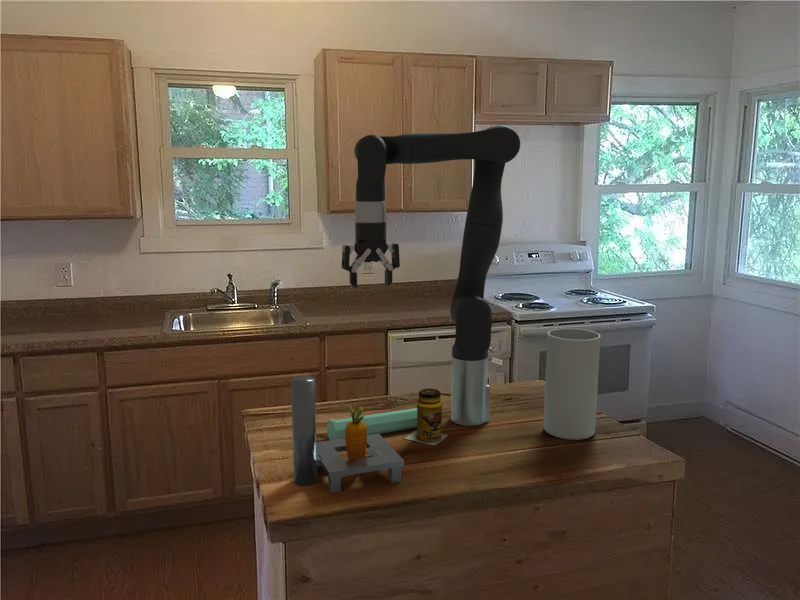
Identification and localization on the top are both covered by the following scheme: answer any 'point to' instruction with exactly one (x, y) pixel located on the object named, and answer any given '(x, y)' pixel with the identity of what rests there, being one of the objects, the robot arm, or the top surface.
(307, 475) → the square hole stand
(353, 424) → the carrot
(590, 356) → the cylinder vase
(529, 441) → the top surface
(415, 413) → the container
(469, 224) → the robot arm
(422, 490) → the top surface
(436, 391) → the condiment
